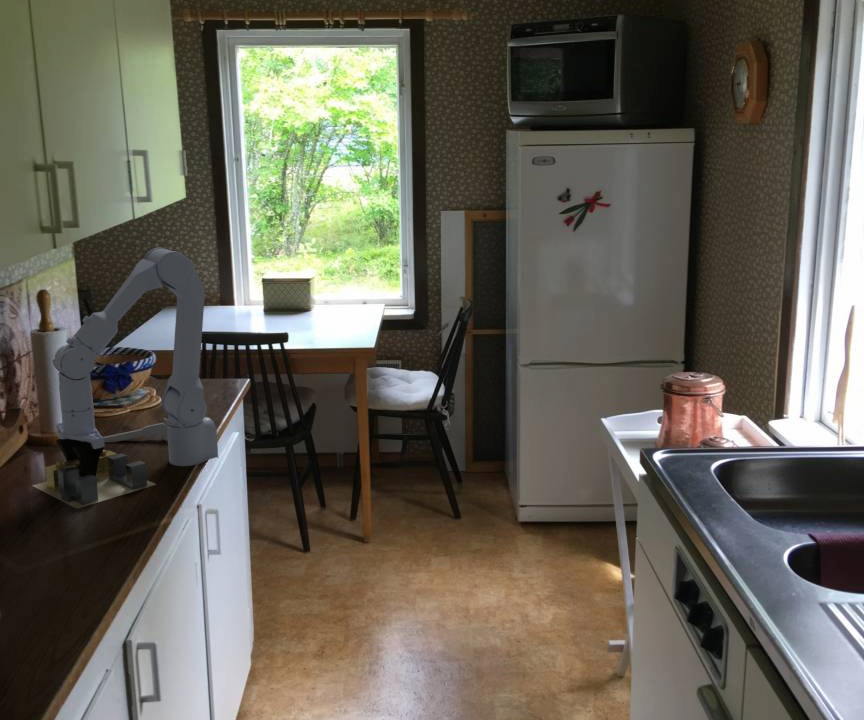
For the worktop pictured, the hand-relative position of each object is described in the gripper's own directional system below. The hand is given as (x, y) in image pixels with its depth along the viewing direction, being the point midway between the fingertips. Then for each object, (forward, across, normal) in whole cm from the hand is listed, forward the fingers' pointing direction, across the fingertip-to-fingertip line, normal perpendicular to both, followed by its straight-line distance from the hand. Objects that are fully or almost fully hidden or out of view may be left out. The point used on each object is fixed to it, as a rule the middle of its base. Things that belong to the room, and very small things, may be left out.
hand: (83, 476), depth 175 cm
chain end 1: (+1, +8, -5) cm, 9 cm away
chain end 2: (+1, +8, +5) cm, 9 cm away
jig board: (+2, +4, 0) cm, 4 cm away
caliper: (+2, -15, +19) cm, 24 cm away
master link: (+1, 0, 0) cm, 1 cm away
